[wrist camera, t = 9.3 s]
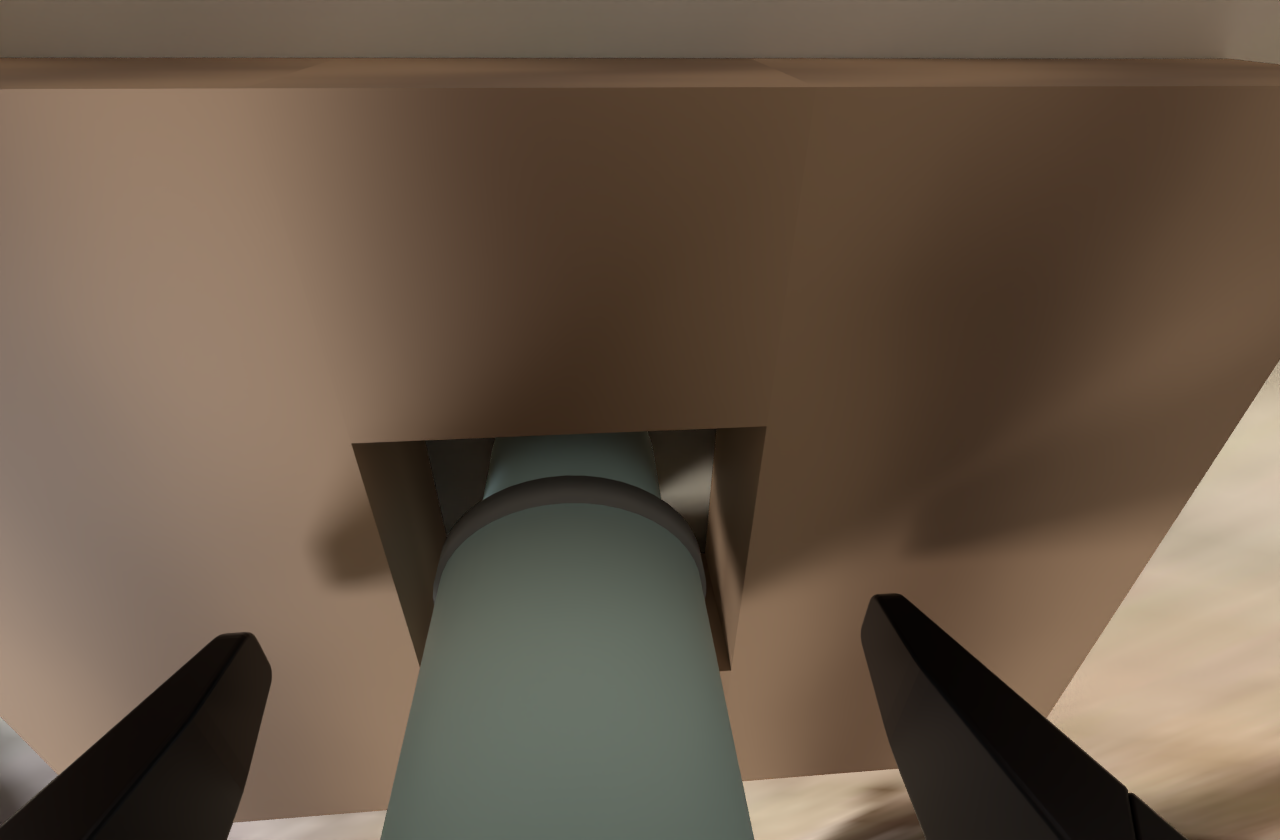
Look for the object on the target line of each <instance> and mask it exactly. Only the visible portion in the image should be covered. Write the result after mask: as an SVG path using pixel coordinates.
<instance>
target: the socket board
mask: <svg viewBox="0 0 1280 840" xmlns="http://www.w3.org/2000/svg"><path fill="white" fill-rule="evenodd" d="M1279 360H1280V65H1278V64H1269V63H1261V62H1252V61H1244V60H1235V59H920V58H0V716H1V718H2V719H3V720H4V721H5V722H6V723H7V724H8V725H9V726H10V727H11V728H12V729H13V730H14V731H15V732H16V733H17V734H18V735H19V736H20V737H21V738H22V739H23V740H24V741H25V742H26V743H27V744H28V745H29V746H30V747H31V748H32V749H33V750H34V751H35V752H36V753H37V754H38V755H39V756H40V757H41V758H42V759H43V760H44V761H45V762H46V763H47V764H48V765H49V766H50V767H51V768H52V769H53V770H54V771H55V772H56V773H57V774H58V775H59V774H60V773H61V772H63V771H64V770H65V769H66V768H67V767H68V766H69V765H71V764H72V763H73V762H74V761H75V760H76V759H77V758H79V757H80V756H81V755H82V754H83V753H84V752H85V751H86V750H88V749H89V748H90V747H91V746H92V745H93V744H94V743H96V742H97V741H98V740H99V739H100V738H101V737H102V736H104V735H105V734H106V733H107V732H108V731H109V730H110V729H111V728H113V727H114V726H115V725H116V724H117V723H118V722H119V721H121V720H122V719H123V718H124V717H125V716H126V715H127V714H129V713H130V712H131V711H132V710H133V709H134V708H135V707H136V706H138V705H139V704H140V703H141V702H142V701H143V700H144V699H146V698H147V697H148V696H149V695H150V694H151V693H152V692H154V691H155V690H156V689H157V688H158V687H159V686H160V685H161V684H163V683H164V682H165V681H166V680H167V679H168V678H169V677H171V676H172V675H173V674H174V673H175V672H176V671H177V670H179V669H180V668H181V667H182V666H183V665H184V664H185V663H186V662H188V661H189V660H190V659H191V658H192V657H193V656H194V655H196V654H197V653H198V652H199V651H200V650H201V649H202V648H204V647H205V646H206V645H207V644H208V643H209V642H210V641H211V640H213V639H214V638H215V637H217V636H219V635H221V634H225V633H236V632H250V633H252V634H254V635H255V636H256V638H257V640H258V642H259V644H260V646H261V648H262V649H263V651H264V653H265V655H266V657H267V659H268V661H269V663H270V665H271V669H272V682H271V686H270V690H269V694H268V698H267V702H266V706H265V710H264V714H263V718H262V722H261V726H260V730H259V734H258V738H257V742H256V746H255V750H254V754H253V758H252V762H251V766H250V770H249V774H248V778H247V781H246V785H245V789H244V792H243V795H242V798H241V801H240V804H239V807H238V810H237V813H236V816H235V818H234V821H233V822H246V821H258V820H270V819H283V818H295V817H307V816H319V815H332V814H344V813H356V812H369V811H381V810H387V809H388V804H389V800H390V796H391V791H392V787H393V783H394V778H395V774H396V770H397V765H398V761H399V757H400V752H401V748H402V744H403V739H404V735H405V731H406V726H407V722H408V718H409V713H410V709H411V705H412V700H413V696H414V692H415V687H416V683H417V678H418V674H419V670H420V665H421V661H422V657H423V652H424V648H425V644H426V639H427V635H428V631H429V626H430V622H431V618H432V613H433V609H434V601H433V584H434V580H435V576H436V572H437V567H438V563H439V559H440V555H441V551H442V547H443V545H444V543H445V540H446V538H447V536H446V532H445V527H444V523H443V519H442V514H441V510H440V505H439V501H438V496H437V492H436V488H435V483H434V479H433V474H432V470H431V465H430V461H429V457H428V452H427V448H426V443H425V440H445V439H470V438H494V437H518V436H543V435H567V434H591V433H616V432H640V431H664V430H689V429H713V428H716V438H715V449H714V460H713V470H712V481H711V492H710V503H709V514H708V525H707V536H706V547H705V553H703V554H701V559H702V564H703V568H704V573H705V578H706V596H705V604H706V609H707V614H708V618H709V623H710V628H711V633H712V638H713V643H714V647H715V652H716V657H717V662H718V667H719V672H720V677H721V681H722V686H723V691H724V696H725V701H726V706H727V710H728V715H729V720H730V725H731V730H732V735H733V739H734V744H735V749H736V754H737V759H738V764H739V768H740V773H741V778H742V781H751V780H763V779H775V778H788V777H800V776H812V775H825V774H837V773H849V772H862V771H874V770H886V769H898V766H897V764H896V761H895V758H894V755H893V753H892V750H891V747H890V744H889V741H888V738H887V735H886V731H885V728H884V724H883V721H882V717H881V713H880V710H879V706H878V702H877V699H876V695H875V691H874V688H873V684H872V680H871V677H870V673H869V669H868V666H867V662H866V658H865V654H864V651H863V647H862V643H861V626H862V623H863V620H864V617H865V614H866V611H867V607H868V604H869V601H870V599H871V597H872V596H874V595H875V594H887V593H898V594H901V595H903V596H904V597H906V598H907V599H908V600H909V601H910V602H911V603H913V604H914V605H915V606H916V607H917V608H918V609H920V610H921V611H922V612H923V613H924V614H925V615H927V616H928V617H929V618H930V619H931V620H932V621H934V622H935V623H936V624H937V625H938V626H939V627H941V628H942V629H943V630H944V631H945V632H946V633H948V634H949V635H950V636H951V637H952V638H953V639H954V640H956V641H957V642H958V643H959V644H960V645H961V646H963V647H964V648H965V649H966V650H967V651H968V652H970V653H971V654H972V655H973V656H974V657H975V658H977V659H978V660H979V661H980V662H981V663H982V664H984V665H985V666H986V667H987V668H988V669H989V670H991V671H992V672H993V673H994V674H995V675H996V676H998V677H999V678H1000V679H1001V680H1002V681H1003V682H1004V683H1006V684H1007V685H1008V686H1009V687H1010V688H1011V689H1013V690H1014V691H1015V692H1016V693H1017V694H1018V695H1020V696H1021V697H1022V698H1023V699H1024V700H1025V701H1027V702H1028V703H1029V704H1030V705H1031V706H1032V707H1034V708H1035V709H1036V710H1037V711H1038V712H1039V713H1041V714H1042V715H1043V716H1044V717H1045V718H1047V716H1048V715H1049V713H1050V712H1051V710H1052V709H1053V707H1054V706H1055V704H1056V703H1057V701H1058V699H1059V698H1060V696H1061V695H1062V693H1063V692H1064V690H1065V689H1066V687H1067V686H1068V684H1069V683H1070V681H1071V680H1072V678H1073V676H1074V675H1075V673H1076V672H1077V670H1078V669H1079V667H1080V666H1081V664H1082V663H1083V661H1084V660H1085V658H1086V656H1087V655H1088V653H1089V652H1090V650H1091V649H1092V647H1093V646H1094V644H1095V643H1096V641H1097V640H1098V638H1099V636H1100V635H1101V633H1102V632H1103V630H1104V629H1105V627H1106V626H1107V624H1108V623H1109V621H1110V620H1111V618H1112V616H1113V615H1114V613H1115V612H1116V610H1117V609H1118V607H1119V606H1120V604H1121V603H1122V601H1123V600H1124V598H1125V597H1126V595H1127V593H1128V592H1129V590H1130V589H1131V587H1132V586H1133V584H1134V583H1135V581H1136V580H1137V578H1138V577H1139V575H1140V573H1141V572H1142V570H1143V569H1144V567H1145V566H1146V564H1147V563H1148V561H1149V560H1150V558H1151V557H1152V555H1153V553H1154V552H1155V550H1156V549H1157V547H1158V546H1159V544H1160V543H1161V541H1162V540H1163V538H1164V537H1165V535H1166V534H1167V532H1168V530H1169V529H1170V527H1171V526H1172V524H1173V523H1174V521H1175V520H1176V518H1177V517H1178V515H1179V514H1180V512H1181V510H1182V509H1183V507H1184V506H1185V504H1186V503H1187V501H1188V500H1189V498H1190V497H1191V495H1192V494H1193V492H1194V490H1195V489H1196V487H1197V486H1198V484H1199V483H1200V481H1201V480H1202V478H1203V477H1204V475H1205V474H1206V472H1207V471H1208V469H1209V467H1210V466H1211V464H1212V463H1213V461H1214V460H1215V458H1216V457H1217V455H1218V454H1219V452H1220V451H1221V449H1222V447H1223V446H1224V444H1225V443H1226V441H1227V440H1228V438H1229V437H1230V435H1231V434H1232V432H1233V431H1234V429H1235V427H1236V426H1237V424H1238V423H1239V421H1240V420H1241V418H1242V417H1243V415H1244V414H1245V412H1246V411H1247V409H1248V408H1249V406H1250V404H1251V403H1252V401H1253V400H1254V398H1255V397H1256V395H1257V394H1258V392H1259V391H1260V389H1261V388H1262V386H1263V384H1264V383H1265V381H1266V380H1267V378H1268V377H1269V375H1270V374H1271V372H1272V371H1273V369H1274V368H1275V366H1276V364H1277V363H1278V361H1279Z"/></svg>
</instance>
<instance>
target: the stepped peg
mask: <svg viewBox="0 0 1280 840" xmlns="http://www.w3.org/2000/svg"><path fill="white" fill-rule="evenodd" d="M705 596H706V578H705V573H704V568H703V564H702V559H701V554H700V550H699V545H698V543H697V540H696V538H695V535H694V533H693V532H692V530H691V528H690V527H689V525H688V523H687V522H686V521H685V520H684V519H683V518H682V516H681V515H680V514H679V513H678V512H677V511H676V510H675V509H673V508H672V507H671V506H670V505H669V504H667V503H666V502H665V501H663V500H661V495H660V489H659V483H658V477H657V471H656V465H655V458H654V452H653V447H652V443H651V440H650V437H649V435H648V433H647V431H640V432H616V433H591V434H567V435H543V436H518V437H496V438H495V440H494V444H493V448H492V453H491V458H490V464H489V469H488V475H487V480H486V486H485V491H484V496H483V500H482V501H481V502H479V503H478V504H476V505H475V506H474V507H473V508H471V509H470V510H469V511H467V512H466V513H465V514H464V515H463V516H462V517H461V519H460V520H459V521H458V522H457V523H456V524H455V525H454V527H453V528H452V530H451V531H450V533H449V534H448V536H447V538H446V540H445V543H444V545H443V547H442V551H441V555H440V559H439V563H438V567H437V572H436V576H435V580H434V584H433V601H434V609H433V613H432V618H431V622H430V626H429V631H428V635H427V639H426V644H425V648H424V652H423V657H422V661H421V665H420V670H419V674H418V678H417V683H416V687H415V692H414V696H413V700H412V705H411V709H410V713H409V718H408V722H407V726H406V731H405V735H404V739H403V744H402V748H401V752H400V757H399V761H398V765H397V770H396V774H395V778H394V783H393V787H392V791H391V796H390V800H389V804H388V809H387V813H386V817H385V822H384V826H383V830H382V835H381V839H380V840H754V836H753V831H752V827H751V822H750V817H749V812H748V807H747V802H746V798H745V793H744V788H743V783H742V778H741V773H740V768H739V764H738V759H737V754H736V749H735V744H734V739H733V735H732V730H731V725H730V720H729V715H728V710H727V706H726V701H725V696H724V691H723V686H722V681H721V677H720V672H719V667H718V662H717V657H716V652H715V647H714V643H713V638H712V633H711V628H710V623H709V618H708V614H707V609H706V604H705Z"/></svg>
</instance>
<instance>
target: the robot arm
mask: <svg viewBox="0 0 1280 840" xmlns="http://www.w3.org/2000/svg"><path fill="white" fill-rule="evenodd" d="M861 643H862V647H863V651H864V654H865V658H866V662H867V666H868V669H869V673H870V677H871V680H872V684H873V688H874V691H875V695H876V699H877V702H878V706H879V710H880V713H881V717H882V721H883V724H884V728H885V731H886V735H887V738H888V741H889V744H890V747H891V750H892V753H893V755H894V758H895V761H896V764H897V766H898V769H899V771H900V774H901V776H902V779H903V782H904V784H905V787H906V789H907V792H908V794H909V797H910V800H911V802H912V805H913V807H914V810H915V813H916V815H917V818H918V820H919V823H920V825H921V828H922V831H923V833H924V836H925V838H926V840H1188V839H1187V838H1186V837H1185V836H1183V835H1182V834H1181V833H1180V832H1179V831H1177V830H1176V829H1175V828H1174V827H1173V826H1171V825H1170V824H1169V823H1168V822H1167V821H1165V820H1164V819H1163V818H1162V817H1161V816H1159V815H1158V814H1157V813H1156V812H1155V811H1154V810H1153V809H1151V808H1150V807H1149V806H1148V805H1147V804H1146V803H1144V802H1143V801H1142V800H1141V799H1140V798H1139V797H1137V796H1136V795H1135V794H1133V793H1128V789H1127V788H1126V787H1125V786H1124V785H1123V784H1122V783H1121V782H1120V781H1118V780H1117V779H1116V778H1115V777H1114V776H1113V775H1111V774H1110V773H1109V772H1108V771H1107V770H1106V769H1105V768H1103V767H1102V766H1101V765H1100V764H1099V763H1098V762H1096V761H1095V760H1094V759H1093V758H1092V757H1091V756H1089V755H1088V754H1087V753H1086V752H1085V751H1084V750H1082V749H1081V748H1080V747H1079V746H1078V745H1077V744H1075V743H1074V742H1073V741H1072V740H1071V739H1070V738H1068V737H1067V736H1066V735H1065V734H1064V733H1063V732H1061V731H1060V730H1059V729H1058V728H1057V727H1056V726H1055V725H1053V724H1052V723H1051V722H1050V721H1049V720H1048V719H1046V718H1045V717H1044V716H1043V715H1042V714H1041V713H1039V712H1038V711H1037V710H1036V709H1035V708H1034V707H1032V706H1031V705H1030V704H1029V703H1028V702H1027V701H1025V700H1024V699H1023V698H1022V697H1021V696H1020V695H1018V694H1017V693H1016V692H1015V691H1014V690H1013V689H1011V688H1010V687H1009V686H1008V685H1007V684H1006V683H1004V682H1003V681H1002V680H1001V679H1000V678H999V677H998V676H996V675H995V674H994V673H993V672H992V671H991V670H989V669H988V668H987V667H986V666H985V665H984V664H982V663H981V662H980V661H979V660H978V659H977V658H975V657H974V656H973V655H972V654H971V653H970V652H968V651H967V650H966V649H965V648H964V647H963V646H961V645H960V644H959V643H958V642H957V641H956V640H954V639H953V638H952V637H951V636H950V635H949V634H948V633H946V632H945V631H944V630H943V629H942V628H941V627H939V626H938V625H937V624H936V623H935V622H934V621H932V620H931V619H930V618H929V617H928V616H927V615H925V614H924V613H923V612H922V611H921V610H920V609H918V608H917V607H916V606H915V605H914V604H913V603H911V602H910V601H909V600H908V599H907V598H906V597H904V596H903V595H901V594H898V593H887V594H875V595H874V596H872V597H871V599H870V601H869V604H868V607H867V611H866V614H865V617H864V620H863V623H862V626H861ZM271 682H272V669H271V665H270V663H269V661H268V659H267V657H266V655H265V653H264V651H263V649H262V648H261V646H260V644H259V642H258V640H257V638H256V636H255V635H254V634H252V633H250V632H236V633H225V634H221V635H219V636H217V637H215V638H214V639H213V640H211V641H210V642H209V643H208V644H207V645H206V646H205V647H204V648H202V649H201V650H200V651H199V652H198V653H197V654H196V655H194V656H193V657H192V658H191V659H190V660H189V661H188V662H186V663H185V664H184V665H183V666H182V667H181V668H180V669H179V670H177V671H176V672H175V673H174V674H173V675H172V676H171V677H169V678H168V679H167V680H166V681H165V682H164V683H163V684H161V685H160V686H159V687H158V688H157V689H156V690H155V691H154V692H152V693H151V694H150V695H149V696H148V697H147V698H146V699H144V700H143V701H142V702H141V703H140V704H139V705H138V706H136V707H135V708H134V709H133V710H132V711H131V712H130V713H129V714H127V715H126V716H125V717H124V718H123V719H122V720H121V721H119V722H118V723H117V724H116V725H115V726H114V727H113V728H111V729H110V730H109V731H108V732H107V733H106V734H105V735H104V736H102V737H101V738H100V739H99V740H98V741H97V742H96V743H94V744H93V745H92V746H91V747H90V748H89V749H88V750H86V751H85V752H84V753H83V754H82V755H81V756H80V757H79V758H77V759H76V760H75V761H74V762H73V763H72V764H71V765H69V766H68V767H67V768H66V769H65V770H64V771H63V772H61V773H60V774H59V775H58V776H57V777H56V778H55V779H54V780H52V781H51V782H50V783H49V784H48V785H47V786H46V787H44V788H43V789H42V790H41V791H40V792H39V793H38V794H36V795H35V796H34V797H33V798H32V799H31V800H30V801H29V802H27V803H26V804H25V805H24V806H23V807H22V808H21V809H19V810H18V811H17V812H16V813H15V814H14V815H13V816H11V817H10V818H9V819H8V820H7V821H6V822H5V823H4V824H2V825H1V826H0V840H227V838H228V835H229V832H230V829H231V827H232V824H233V821H234V818H235V816H236V813H237V810H238V807H239V804H240V801H241V798H242V795H243V792H244V789H245V785H246V781H247V778H248V774H249V770H250V766H251V762H252V758H253V754H254V750H255V746H256V742H257V738H258V734H259V730H260V726H261V722H262V718H263V714H264V710H265V706H266V702H267V698H268V694H269V690H270V686H271Z"/></svg>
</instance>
